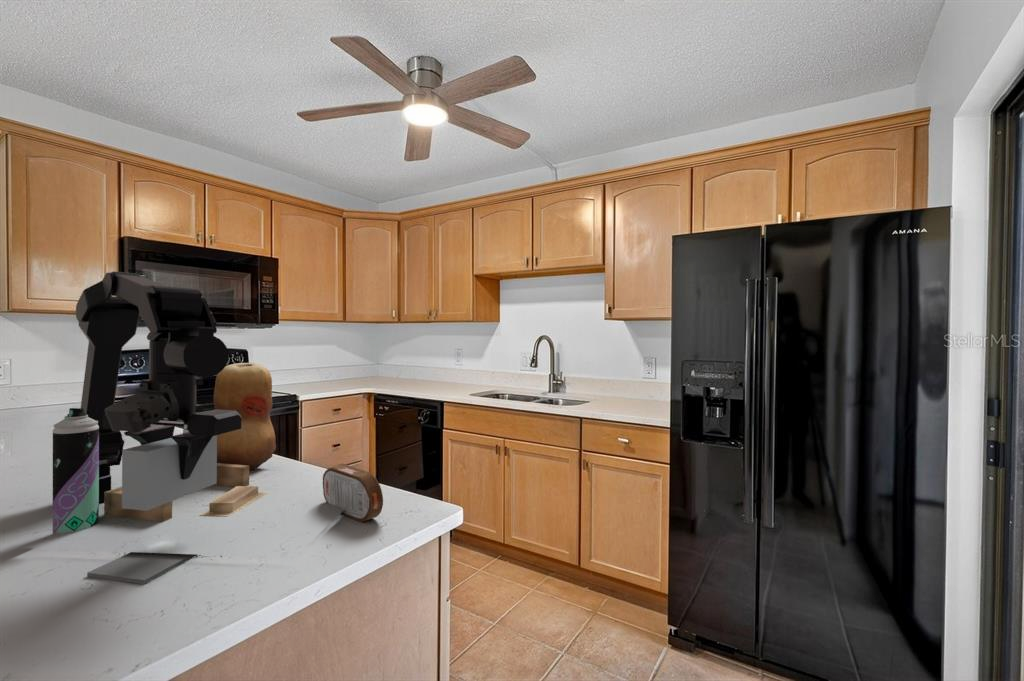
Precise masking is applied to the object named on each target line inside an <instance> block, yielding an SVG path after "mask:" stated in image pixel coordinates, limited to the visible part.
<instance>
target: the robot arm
mask: <svg viewBox="0 0 1024 681" xmlns="http://www.w3.org/2000/svg"><path fill="white" fill-rule="evenodd" d="M203 295H204V294H203V292H202V291H201V290H200V289H198V288H195V287H194V288H192V287H181V286H167V285H164V284H161V283H158V282H156V281H154V280H151V279H149V278H146V276H145V275H141V274H140V273H133V272H123V271H111V272H106V273H105V275H104V276H103V278H102V279H101V281H98V282H96V283H95V284H93V285H91V286H89V287H86V288H85V289H83V291H82V293H81V294H80V296H79V298H78V301H77V303H76V306H75V318H76V320H77V321H78V322H77V323H78V327H79V328H80V330H81V332H82V334H83V335H84V336H85V337H86V340H88V343H87V344H88V347H87V352H86V353H87V354H86V362H85V370H84V375H83V376H84V377H83V378H84V379H83V385H82V394H81V403H80V408H84V413H86V415H88V417H89V418H91V419H93V420H97V421H98V424H97V425H98V426H99V503H101V502H104V492H106V491H109V490H112V475H111V467H113V466H120V465H121V462H122V450H124V446H125V440H124V439H123V434H124V435H125V436H126V437H130V438H132V439H134V440H135V441H137V442H139V444H140V445H144V444H148V443H152V442H156V441H160V440H164V439H168V438H172V439H173V440H174V441H175V442H176V443H177V444H178V445H179V463H180V475H181V479H182V480H185V479H188V478H189V477H190V475H191V473H192V472H193V470H194V468H195V466H196V464H197V462H198V460H199V458H200V456H201V454H202V453H203V451H204V449H205V448H206V446H207V445H208V443H209V441H210V440H211V438H212V437H213V436H216V435H219V434H223V433H227V432H231V431H234V430H238V429H241V415H240V414H239V413H238V412H237V411H235V410H219V409H216V410H215V409H213V410H212V409H211V410H207V411H204V404H197V386H202V385H204V378H209V377H213V376H217V374H218V373H220V372H221V371H222V370H223V369H224V368H225V366H228V362H229V359H230V358H229V357H230V351H228V348H227V345H226V344H225V343H224V341H223V340H222V339H220V338H218V337H216V336H215V335H214V334H216V333H217V332H218V331H217V329H218V328H217V327H216V325H217V320H216V318H215V316H214V314H213V313H212V310H211V308H210V307H209V304H208V301H207V298H206V297H205V296H203ZM142 320H143V322H144V323H145V326H146V328H148V330H149V332H148V334H147V335H146V339H147V340H148V341H149V343H148V344H149V346H148V347H149V348H148V349H149V350H148V353H149V354H148V355H149V356H148V359H149V360H148V362H149V364H148V379H141V381H140V383H139V386H138V387H139V391H138V392H137V393H135V394H133V395H129V396H127V397H125V398H123V399H121V400H119V401H117V402H115V400H116V394H117V387H118V379H119V373H120V365H121V359H122V350H123V348H124V346H126V344H128V342H129V341H131V339H132V338H134V336H136V333H137V329H138V325H139V323H140V322H141V321H142ZM176 427H183V429H182V433H178V434H175V433H174V432H175V428H176ZM121 432H123V434H122V433H121ZM174 434H175V435H174Z"/></svg>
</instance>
